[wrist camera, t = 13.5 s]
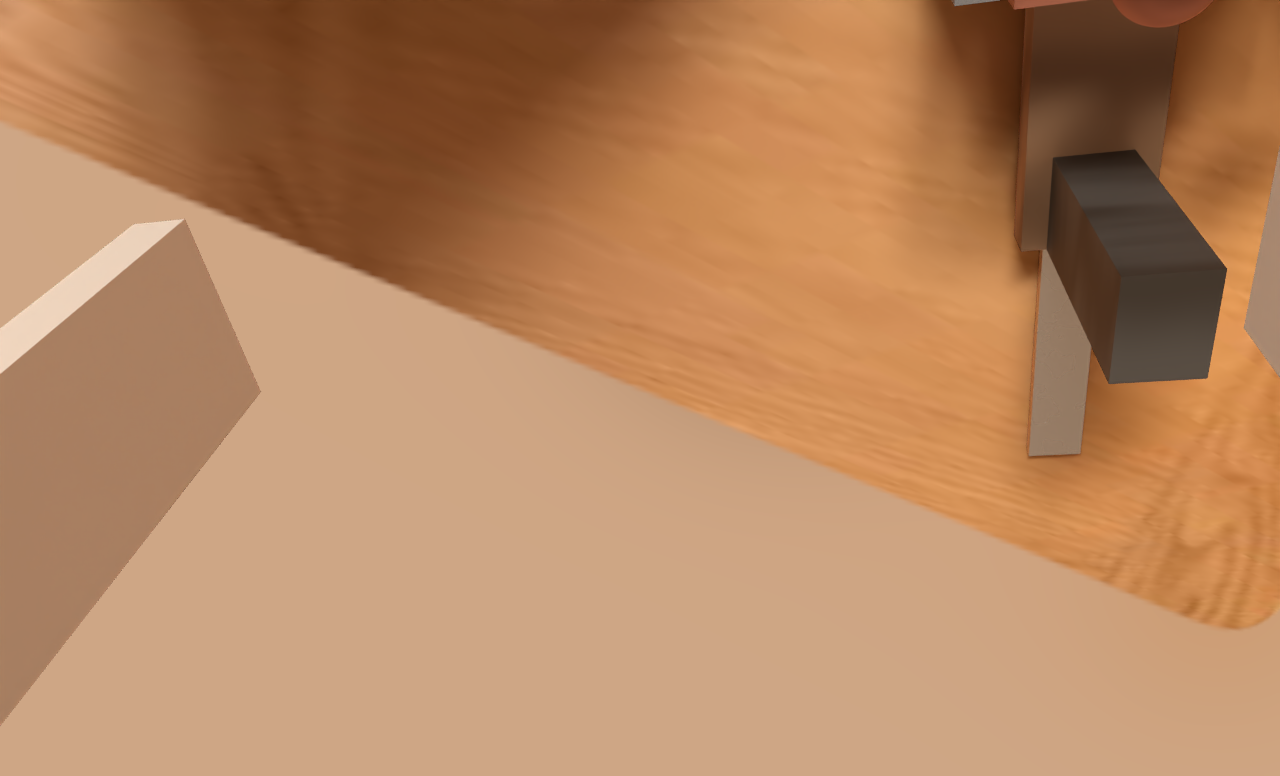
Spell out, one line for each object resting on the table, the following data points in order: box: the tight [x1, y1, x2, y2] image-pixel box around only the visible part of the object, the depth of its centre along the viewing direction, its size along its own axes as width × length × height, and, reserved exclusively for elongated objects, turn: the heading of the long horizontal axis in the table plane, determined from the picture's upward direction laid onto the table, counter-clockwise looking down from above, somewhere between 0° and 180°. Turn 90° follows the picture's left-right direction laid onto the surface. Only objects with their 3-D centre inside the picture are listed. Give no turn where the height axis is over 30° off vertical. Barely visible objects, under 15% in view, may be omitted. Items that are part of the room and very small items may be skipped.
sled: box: [1008, 0, 1227, 384], centre depth 34 cm, size 14×8×12 cm, turn 9°
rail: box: [1027, 250, 1091, 456], centre depth 45 cm, size 2×17×1 cm, turn 9°
